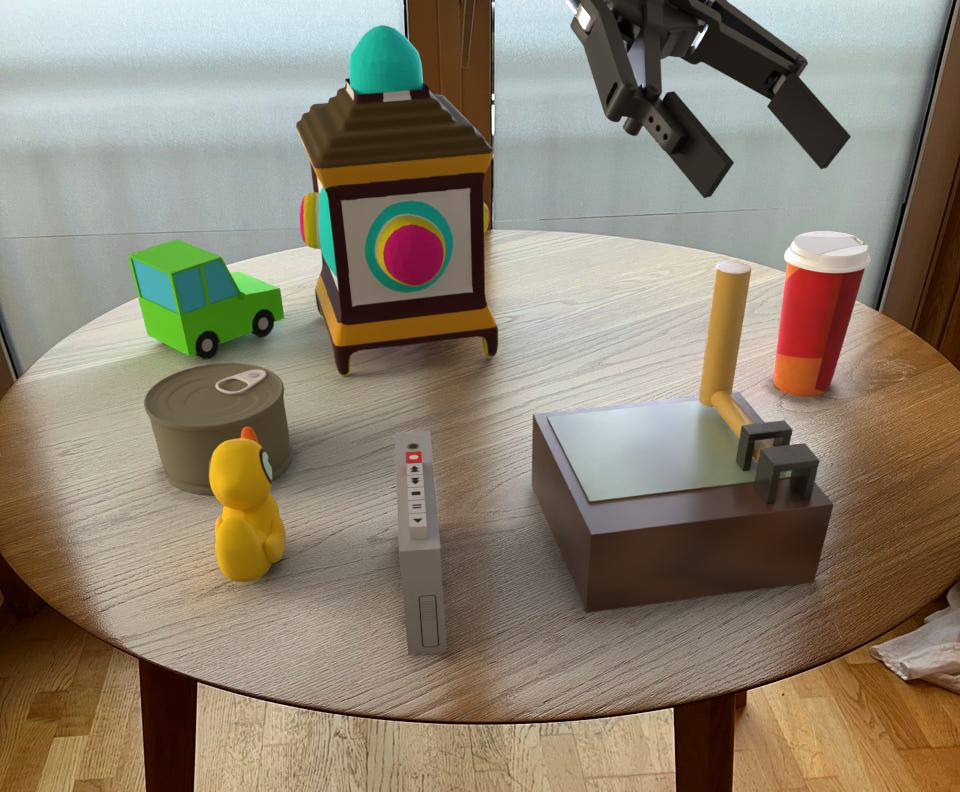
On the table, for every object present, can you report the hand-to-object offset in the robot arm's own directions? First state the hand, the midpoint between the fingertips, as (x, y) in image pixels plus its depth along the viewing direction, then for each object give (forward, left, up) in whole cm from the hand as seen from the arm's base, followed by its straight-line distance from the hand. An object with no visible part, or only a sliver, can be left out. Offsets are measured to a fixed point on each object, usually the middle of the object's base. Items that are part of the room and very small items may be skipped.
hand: (780, 166), depth 68 cm
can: (+44, +8, -26) cm, 52 cm away
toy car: (+59, -16, -26) cm, 67 cm away
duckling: (+34, +21, -26) cm, 48 cm away
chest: (+4, +7, -26) cm, 27 cm away
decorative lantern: (+39, -22, -26) cm, 52 cm away
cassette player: (+20, +20, -26) cm, 39 cm away
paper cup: (-4, -23, -26) cm, 35 cm away
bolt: (0, +2, -19) cm, 19 cm away
